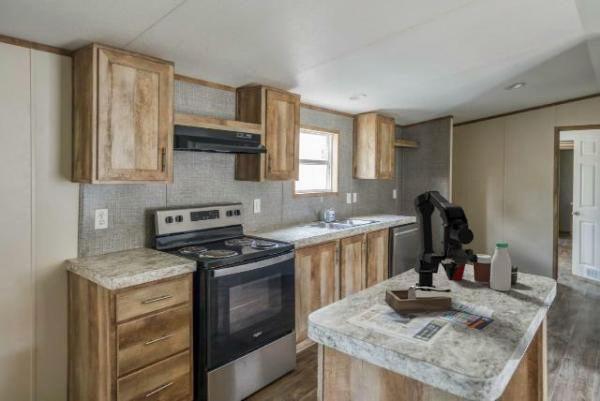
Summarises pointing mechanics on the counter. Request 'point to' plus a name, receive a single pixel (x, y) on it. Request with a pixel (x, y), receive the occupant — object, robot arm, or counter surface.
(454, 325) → the counter surface
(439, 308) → the wooden tray
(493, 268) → the milk bottle
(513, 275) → the jar
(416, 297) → the beer glass
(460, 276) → the plastic cup
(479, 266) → the coffee cup
